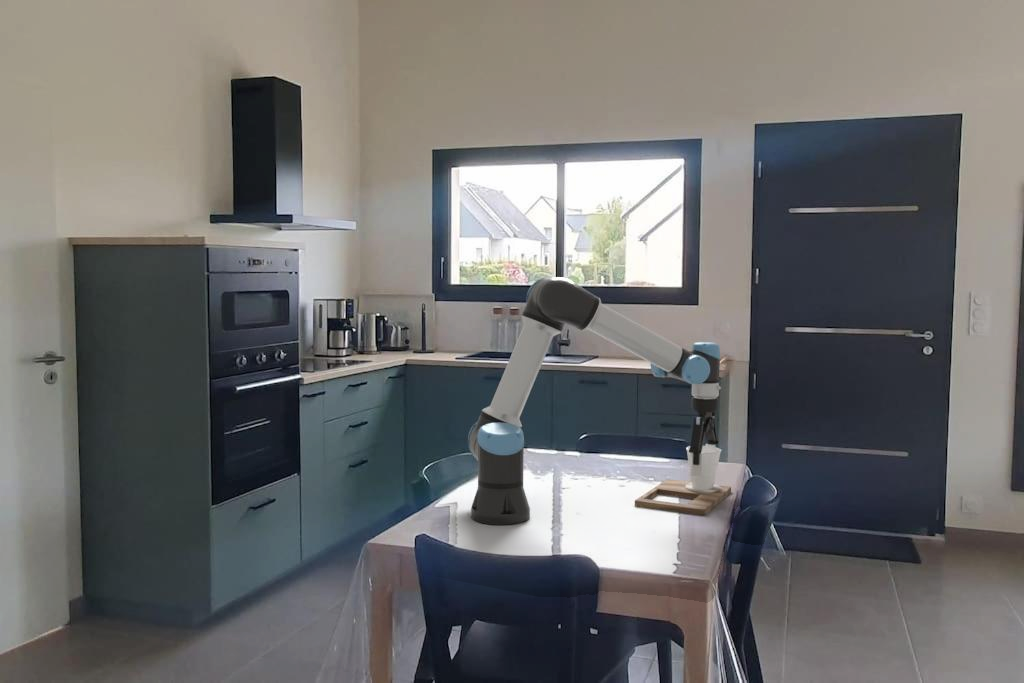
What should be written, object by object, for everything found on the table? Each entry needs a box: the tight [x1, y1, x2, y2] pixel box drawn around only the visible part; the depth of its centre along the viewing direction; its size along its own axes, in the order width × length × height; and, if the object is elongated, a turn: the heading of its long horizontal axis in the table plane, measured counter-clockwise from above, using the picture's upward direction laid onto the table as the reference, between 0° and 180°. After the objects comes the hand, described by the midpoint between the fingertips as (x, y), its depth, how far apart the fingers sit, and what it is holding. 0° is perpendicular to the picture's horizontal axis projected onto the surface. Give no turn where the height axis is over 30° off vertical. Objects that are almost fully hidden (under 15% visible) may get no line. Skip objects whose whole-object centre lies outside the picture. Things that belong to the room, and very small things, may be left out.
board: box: [634, 478, 732, 516], centre depth 244 cm, size 28×19×2 cm
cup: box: [685, 445, 722, 489], centre depth 249 cm, size 10×10×11 cm
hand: (703, 471), depth 249 cm, fingers open, 13 cm apart
